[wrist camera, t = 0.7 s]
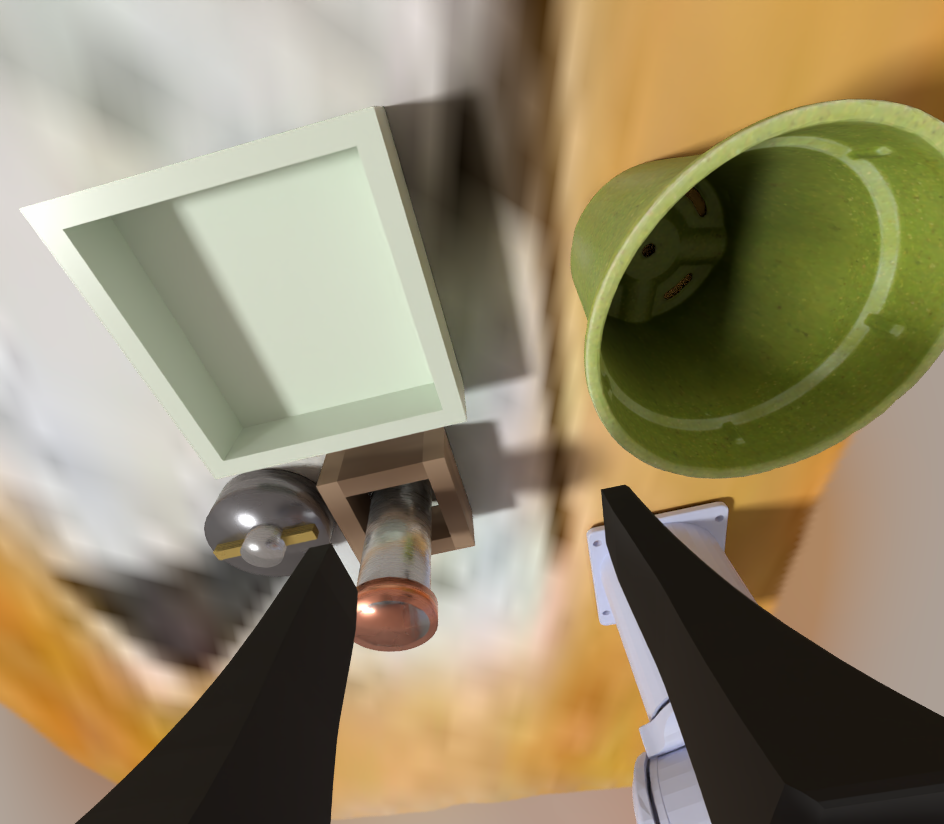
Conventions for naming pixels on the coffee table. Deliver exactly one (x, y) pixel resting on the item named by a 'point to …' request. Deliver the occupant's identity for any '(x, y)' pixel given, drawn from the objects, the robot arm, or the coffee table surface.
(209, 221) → the tray
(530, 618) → the coffee table surface
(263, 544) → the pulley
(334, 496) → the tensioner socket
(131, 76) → the coffee table surface
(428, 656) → the coffee table surface
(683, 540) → the robot arm
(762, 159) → the plant pot
